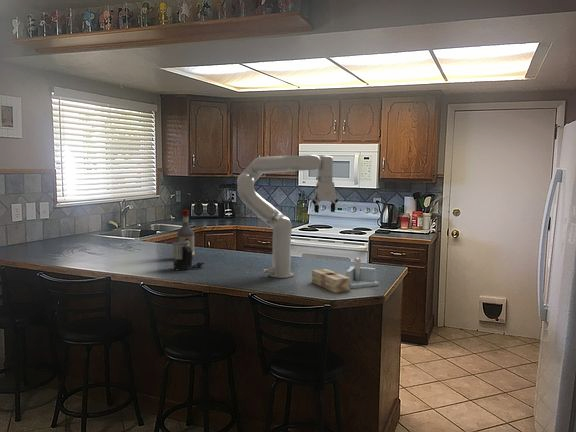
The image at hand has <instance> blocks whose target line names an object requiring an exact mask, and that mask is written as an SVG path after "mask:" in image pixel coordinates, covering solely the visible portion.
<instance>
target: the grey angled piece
mask: <svg viewBox="0 0 576 432" xmlns="http://www.w3.org/2000/svg"><path fill="white" fill-rule="evenodd" d="M345 276H346V277H349V278H350V289H360V288H369V287H378V286H380V282H379V281H376V268H374V267H365V266H364V267H363V266H360V281H354V266H353V265H352V266H349V267H348V269H347V270H346V271H345Z"/></svg>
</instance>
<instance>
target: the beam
mask: <svg viewBox="0 0 576 432" xmlns="http://www.w3.org/2000/svg"><path fill="white" fill-rule="evenodd" d="M311 270H312V271H311V282H312V283H313V284H316V285H317V286H320V287H322V288H323V289H325V290H326V289H327V290H328V291H330V292H332V293H343V292H349V291H351V290H350V289H351V288H350V278H349V277H346V275H344V274H341V273H338V272H335V271H333V270H330V269H327V268H320V269H311Z"/></svg>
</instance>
